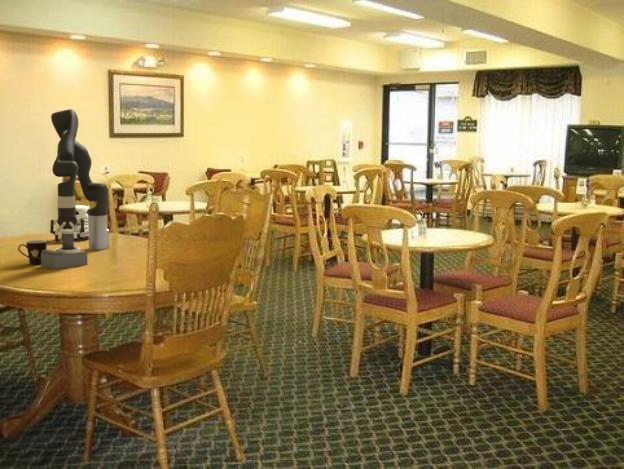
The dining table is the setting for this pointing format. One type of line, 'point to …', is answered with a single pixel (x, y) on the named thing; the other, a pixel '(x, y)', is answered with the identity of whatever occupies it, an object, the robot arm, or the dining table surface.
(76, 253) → the camera body
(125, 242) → the dining table surface
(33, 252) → the coffee mug
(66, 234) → the lens
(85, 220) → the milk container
